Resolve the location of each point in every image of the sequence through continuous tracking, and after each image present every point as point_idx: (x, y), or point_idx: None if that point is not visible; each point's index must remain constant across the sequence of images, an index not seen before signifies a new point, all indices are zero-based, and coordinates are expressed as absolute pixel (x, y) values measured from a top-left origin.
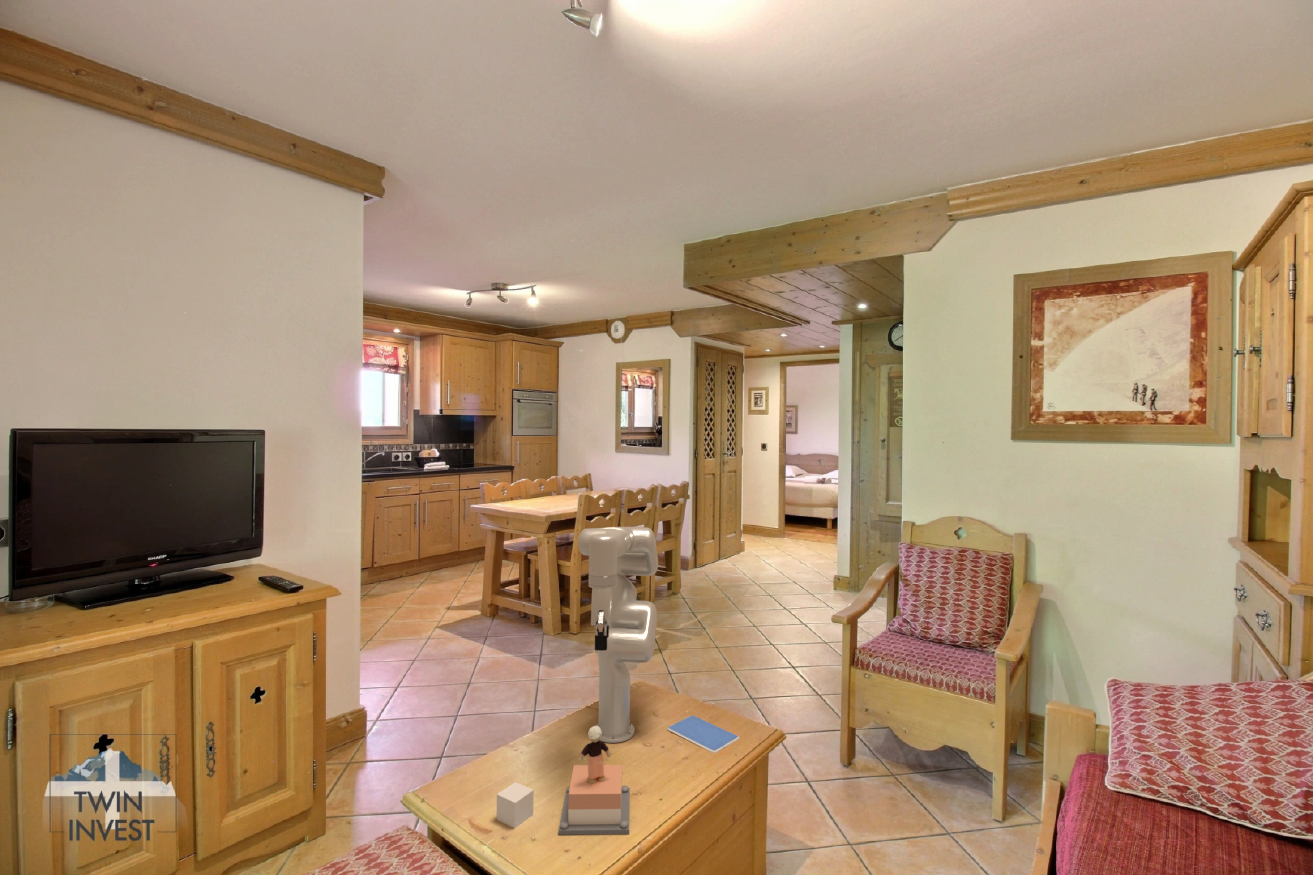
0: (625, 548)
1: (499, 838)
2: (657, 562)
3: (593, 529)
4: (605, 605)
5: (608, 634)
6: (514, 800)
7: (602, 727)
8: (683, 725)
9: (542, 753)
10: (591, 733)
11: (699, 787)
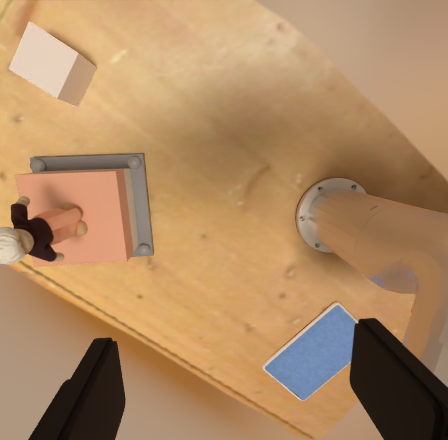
0: None
1: (8, 60)
2: None
3: None
4: None
5: (364, 401)
6: (16, 65)
7: (321, 199)
8: (342, 327)
9: (265, 88)
10: None
11: (172, 345)
